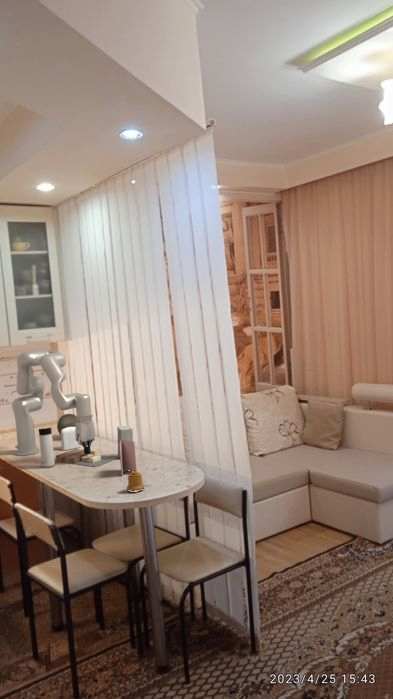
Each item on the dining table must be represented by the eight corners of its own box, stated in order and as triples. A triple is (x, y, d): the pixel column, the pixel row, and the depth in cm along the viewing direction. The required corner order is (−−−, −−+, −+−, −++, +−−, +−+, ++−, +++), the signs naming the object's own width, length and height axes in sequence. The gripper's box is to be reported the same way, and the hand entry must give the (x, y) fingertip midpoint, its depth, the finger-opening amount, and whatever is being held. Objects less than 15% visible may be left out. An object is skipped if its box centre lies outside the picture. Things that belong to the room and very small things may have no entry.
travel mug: (42, 469, 290) (38, 429, 288) (42, 465, 296) (38, 427, 295) (55, 467, 292) (51, 427, 290) (54, 464, 298) (51, 425, 296)
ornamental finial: (132, 487, 251) (148, 488, 248) (123, 492, 244) (139, 494, 241) (131, 468, 250) (146, 469, 247) (122, 474, 243) (138, 475, 240)
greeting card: (121, 469, 279) (119, 438, 278) (137, 468, 279) (135, 437, 278) (120, 476, 268) (117, 444, 266) (136, 475, 268) (134, 443, 267)
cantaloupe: (53, 441, 352) (51, 416, 351) (67, 435, 365) (64, 411, 364) (72, 441, 346) (70, 416, 345) (86, 436, 359) (84, 412, 358)
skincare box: (117, 456, 304) (115, 426, 303) (131, 454, 306) (128, 424, 305) (121, 460, 296) (119, 429, 295) (135, 458, 299) (132, 427, 297)
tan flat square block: (56, 461, 303) (55, 455, 303) (76, 454, 315) (75, 449, 314) (74, 464, 295) (74, 458, 295) (94, 457, 306) (94, 451, 306)
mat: (75, 464, 295) (75, 463, 295) (95, 457, 306) (95, 456, 306) (95, 467, 287) (95, 466, 287) (114, 459, 298) (114, 459, 298)
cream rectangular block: (82, 461, 298) (81, 456, 298) (89, 458, 303) (89, 454, 302) (93, 462, 293) (92, 458, 293) (100, 459, 298) (100, 455, 298)
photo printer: (78, 446, 333) (76, 425, 332) (81, 447, 330) (79, 426, 329) (61, 449, 328) (59, 428, 327) (63, 451, 324) (61, 429, 323)
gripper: (89, 415, 306) (92, 449, 307) (68, 421, 294) (71, 456, 295) (100, 416, 302) (103, 451, 303) (78, 422, 289) (81, 458, 291)
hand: (87, 453), depth 299 cm, fingers closed
